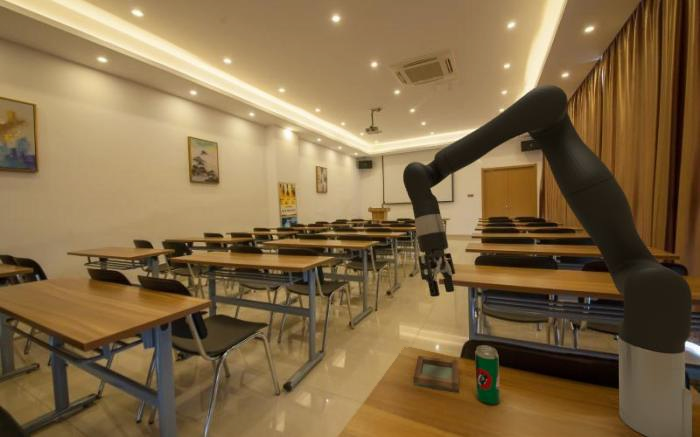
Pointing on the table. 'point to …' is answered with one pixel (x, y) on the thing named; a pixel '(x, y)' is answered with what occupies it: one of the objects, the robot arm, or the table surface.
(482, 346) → the soda can
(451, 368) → the tray
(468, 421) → the table surface
